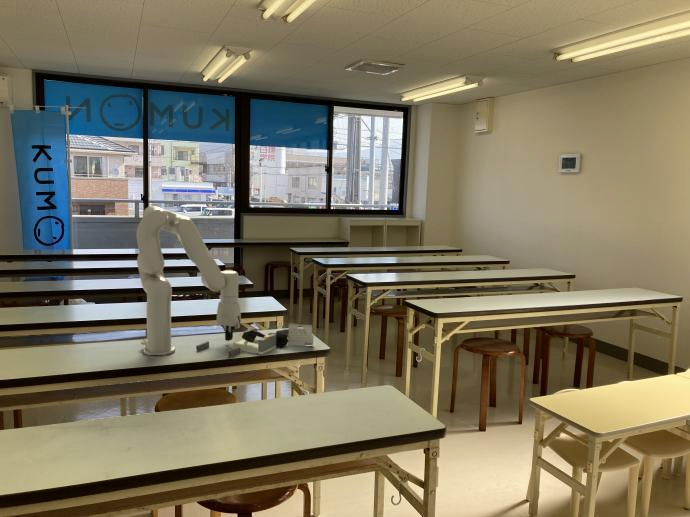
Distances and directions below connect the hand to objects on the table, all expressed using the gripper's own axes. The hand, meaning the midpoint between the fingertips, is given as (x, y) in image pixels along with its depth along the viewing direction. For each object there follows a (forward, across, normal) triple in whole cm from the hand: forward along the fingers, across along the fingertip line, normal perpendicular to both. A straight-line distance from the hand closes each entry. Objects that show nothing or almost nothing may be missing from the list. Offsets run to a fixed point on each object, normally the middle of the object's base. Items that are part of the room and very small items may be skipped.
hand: (228, 339), depth 254 cm
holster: (+2, +3, -12) cm, 12 cm away
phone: (+2, +16, +26) cm, 31 cm away
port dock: (+2, +12, 0) cm, 12 cm away
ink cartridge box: (+2, +28, +14) cm, 32 cm away
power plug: (0, +13, +2) cm, 14 cm away
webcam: (+2, +19, +9) cm, 21 cm away
